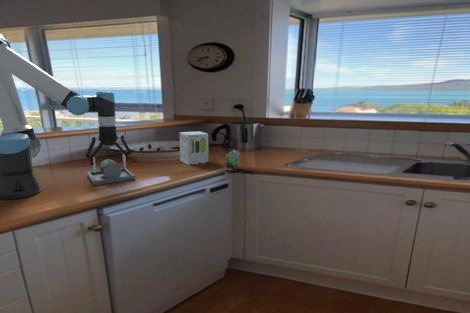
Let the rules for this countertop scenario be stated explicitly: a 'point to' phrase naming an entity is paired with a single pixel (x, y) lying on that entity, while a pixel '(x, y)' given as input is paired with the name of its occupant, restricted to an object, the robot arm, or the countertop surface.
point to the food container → (232, 160)
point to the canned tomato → (110, 168)
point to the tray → (99, 178)
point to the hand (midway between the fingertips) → (110, 170)
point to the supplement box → (193, 147)
